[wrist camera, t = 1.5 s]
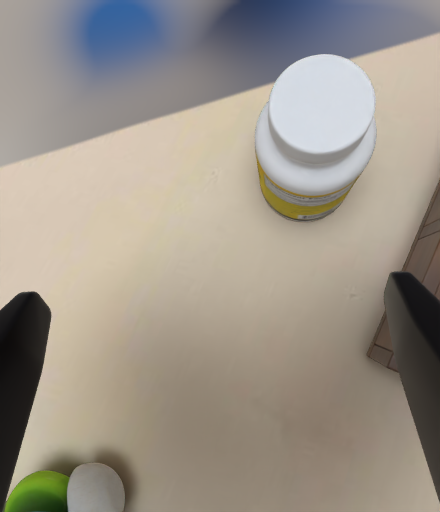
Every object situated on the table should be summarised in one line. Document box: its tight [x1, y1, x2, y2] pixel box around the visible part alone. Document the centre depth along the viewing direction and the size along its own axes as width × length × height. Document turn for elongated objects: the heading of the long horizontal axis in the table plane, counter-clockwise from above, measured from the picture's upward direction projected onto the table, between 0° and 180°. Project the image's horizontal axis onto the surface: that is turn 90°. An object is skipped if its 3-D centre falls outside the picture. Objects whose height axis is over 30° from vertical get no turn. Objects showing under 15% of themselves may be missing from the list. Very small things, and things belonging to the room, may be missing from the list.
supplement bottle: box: [255, 54, 376, 222], centre depth 19 cm, size 5×5×10 cm
